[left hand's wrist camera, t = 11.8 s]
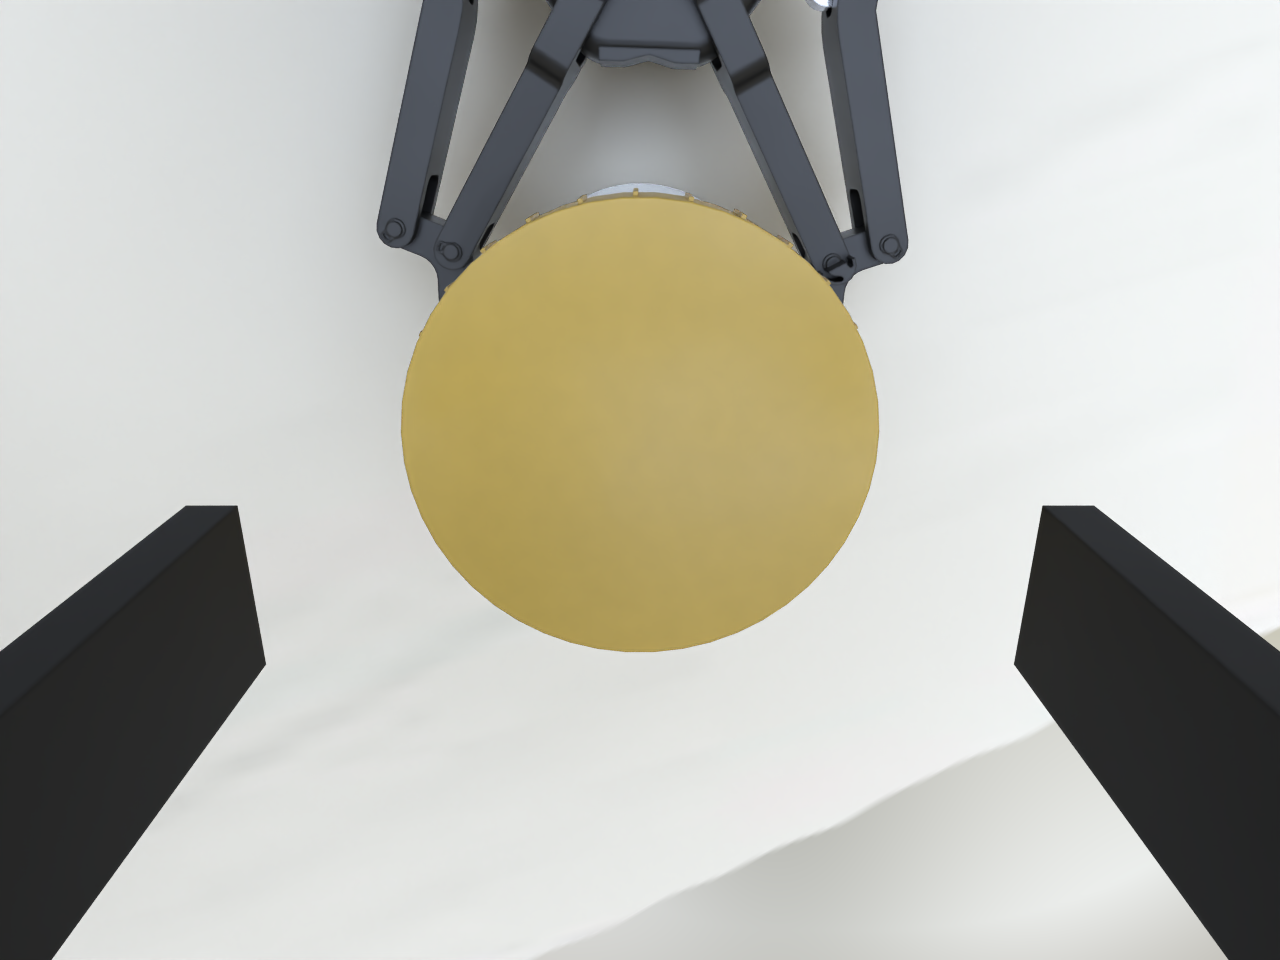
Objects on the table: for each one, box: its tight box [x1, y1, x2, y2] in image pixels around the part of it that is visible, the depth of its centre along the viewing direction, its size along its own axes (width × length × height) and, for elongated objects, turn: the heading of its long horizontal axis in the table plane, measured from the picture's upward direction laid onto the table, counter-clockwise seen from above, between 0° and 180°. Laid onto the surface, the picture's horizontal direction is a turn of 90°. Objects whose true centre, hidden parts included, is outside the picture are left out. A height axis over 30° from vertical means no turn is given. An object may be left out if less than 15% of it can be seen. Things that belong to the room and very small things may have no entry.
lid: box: [401, 188, 879, 652], centre depth 20 cm, size 11×11×2 cm
